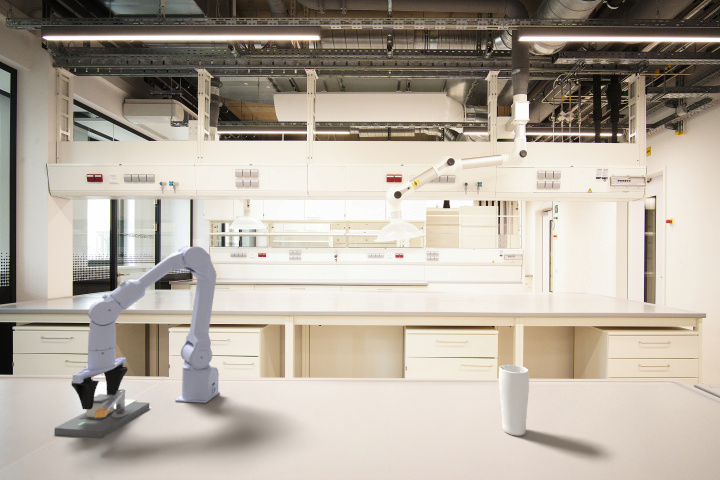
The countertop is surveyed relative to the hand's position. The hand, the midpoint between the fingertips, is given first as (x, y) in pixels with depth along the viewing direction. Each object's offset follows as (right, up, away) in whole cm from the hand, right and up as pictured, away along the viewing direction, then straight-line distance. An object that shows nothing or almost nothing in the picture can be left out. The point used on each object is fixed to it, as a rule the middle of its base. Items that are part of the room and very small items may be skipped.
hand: (100, 402), depth 93 cm
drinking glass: (+103, -5, -4) cm, 103 cm away
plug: (0, -3, 0) cm, 3 cm away
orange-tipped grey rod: (+7, -2, -6) cm, 10 cm away
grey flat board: (+2, -4, 0) cm, 5 cm away
